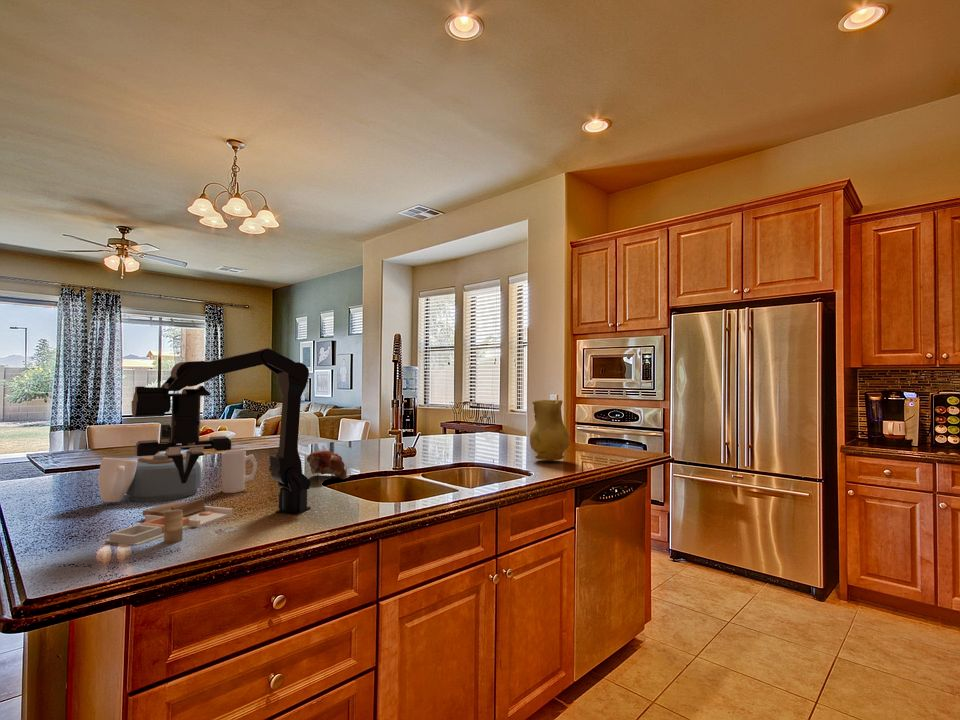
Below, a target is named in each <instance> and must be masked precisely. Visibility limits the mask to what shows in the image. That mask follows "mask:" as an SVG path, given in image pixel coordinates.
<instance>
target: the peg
mask: <svg viewBox="0 0 960 720" xmlns="http://www.w3.org/2000/svg"><path fill="white" fill-rule="evenodd" d="M182 528H183V510H180V509H177V510H169V511H166V512H165V513H164V537H163V543H164V544H176V543H179V542H182V541H183V530H182Z"/></svg>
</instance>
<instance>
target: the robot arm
mask: <svg viewBox="0 0 960 720" xmlns="http://www.w3.org/2000/svg"><path fill="white" fill-rule="evenodd" d="M258 366H265V368H267V369H268V370H269V371H270V372H272V373H274V374H276V375H278V384H279V387H280V391H281V396H282V399H281V400H282V403H281V415H280V416H281V417H280V429H279V430H280V431H279V444H278V445H279V446H278V451H277V452H276V454H275V455H270V457H269V462H270V464H269V468H268V472H270V475H271V477H272V478H273V480H274V481H276V482H277V485H278V486H279V487H280V488H279V493H278V510H276V511H275V514H284V515H293V516H294V515H299V514H301V513H304V512H305V511H308V510H310V509H311V506H308V490H310V486H311V483H312V481H311V479H309V478H308V477H307V476H306V475H304V473H303V468H302V460H301V456H300V454H299V450H298V445H299V431H300V416H301V402H302V395H303V393H304V391H305V389H306V388H307V384H308V380H309V376H310V370H309V367H307V366H306V365H305V363H303V362H300V361H299V362H298V361H297V362H296V361H294V360H293V359H291V358H288V357H286V356H284V355H282V354H280V353H279V352H277V351H275V350H274V349H273V348H269V347H268V348H261V349H258V350H255V351H250V352H246V353H241V354H236V355H231V356H226V357H222V358H218V359H214V360H199V361H198V360H197V361H195V360H194V361H180V362H178V363H176V364H175V365H174V366H173V367H172V368H171V371H170V376H169V377H168V378H167V379H166V381H164V383H163V384H162V385H161V386H157V387H156V386H151V387H150V386H148V387H147V386H135V387H134V393H133V397H132V400H131V414H132V415H131V416H132V417H133V418H154V417H156V418H158V417H164V416H165V415H166V413H168V412H170V411H171V418H170V420H171V421H170V424H161V425H160V430H159V431H160V433H159V437H160V438H159V439H160V440H168V442H159V441H158V440H157V439H150V440H149V439H148V440H147V439H146V440H138V441H137V442H136V443H135V449H134V451H135V455H136V457H147V456H153V455H156V454H158V453H159V452H164V453H165V455H166V457H167V458H172V460H173V461H174V463H175V466H176V468H177V471H178V474H179V477H180V480H181V483H182V484H183V483H186V482H187V479H188V477H189V475H190V473H191V470H192V468H193V466H194V464H195V463H196V461H197V462H198V460H199V458H200V457H203V456H204V455H205V453H204V449H214V450H215V451H217V452H221V451H222V452H224V451H232V440H231V439H230V438H229V437H228V436H226V435H223V436H221V435H220V436H209V438H208V439H207V440H206V439H205V440H200V427H201V426H200V423H201V397H210V396H211V395H212V393H211V392H209V391H208V390H207V389H206V388H205V386H204V385H200V384H204V383H205V382H209V381H210V380H212V379H214V378H215V377H218V376H221V375H224V374H227V373H232V372H237V371H241V370H245V369H249V368H250V369H251V368H253V367H258ZM198 385H199V386H198ZM196 386H198V387H197V388H192V387H196ZM186 387H189V388H186ZM190 387H191V388H190ZM181 390H182V391H181ZM179 391H181V392H179ZM169 392H176V393H169ZM177 392H179V393H177ZM184 450H185V451H186V452H185V454H186V463H185V469H184V465H183V455H182V454H183V453H181V452H182V451H184Z"/></svg>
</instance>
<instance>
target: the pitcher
mask: <svg viewBox="0 0 960 720" xmlns="http://www.w3.org/2000/svg"><path fill="white" fill-rule="evenodd" d="M531 402H532V404H533V413H534V415H533V416H534V421H535V424H534V427H533V428H532V430H531V431H530V434H529V444H530V445H529V446H530V448H531V450H532V451H534V452H535V453H537V455H536V456H535V459H537V460H544V461H560V460H562V459H564V458H565V455H563V454H564V453H565V451H566V450H567V448H569V445H570V433H569V431H568V429H567V428H566V426H565V424H564V421H563V417H562V415H563V414H562V404H563V403H564V402H563V400H562V399H561V400H559V399H540V400H534V401H531Z"/></svg>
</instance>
